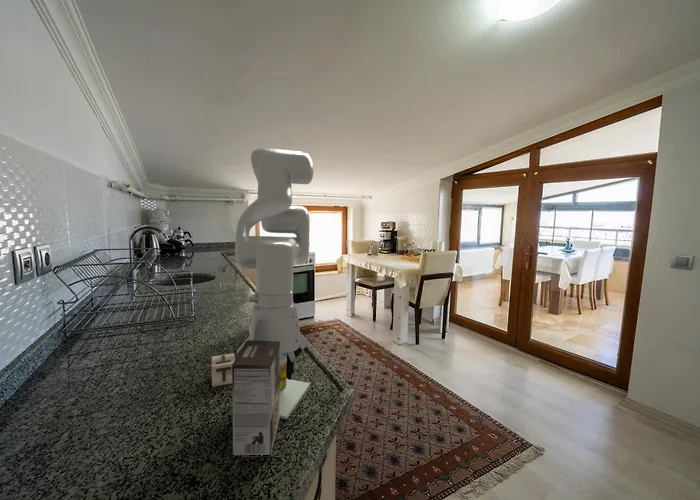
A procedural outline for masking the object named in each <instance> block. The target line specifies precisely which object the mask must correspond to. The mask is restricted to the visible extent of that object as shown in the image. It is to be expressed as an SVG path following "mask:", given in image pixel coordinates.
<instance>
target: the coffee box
mask: <svg viewBox="0 0 700 500" xmlns="http://www.w3.org/2000/svg"><path fill="white" fill-rule="evenodd" d="M245 341H246V340H245ZM245 341H244V342H245ZM231 384H232V385H231V386H232V387H231V389H232V390H231V391H232V394H231V395H232V396H231V397H232V456H233V455H257V456H256V457H259V456H258V455H261V456H260V457H264V456H263V455H270V454H271V455H272V453H273V452H272V451H273V449H274V444H275V443H274V442H275V439H276V434H277V431H278V426H279V422H280V419H281V418H280V416H279V397H280V341H260V340H259V341H246V342H245V344H244V345H243V347H242V349H241V350H240V352H239V354H238V355H237V356H235V361H234V362H233V364H232V383H231ZM272 448H273V449H272ZM271 452H272V453H271ZM271 455H270V456H271Z"/></svg>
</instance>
